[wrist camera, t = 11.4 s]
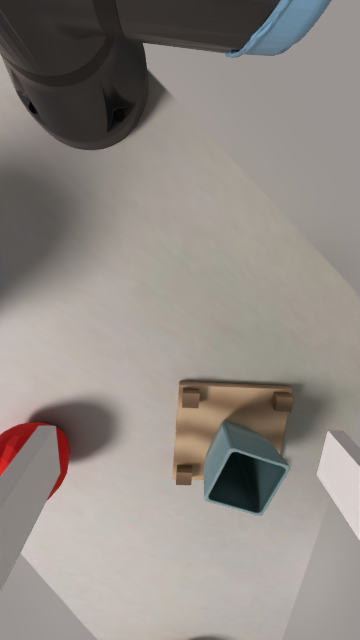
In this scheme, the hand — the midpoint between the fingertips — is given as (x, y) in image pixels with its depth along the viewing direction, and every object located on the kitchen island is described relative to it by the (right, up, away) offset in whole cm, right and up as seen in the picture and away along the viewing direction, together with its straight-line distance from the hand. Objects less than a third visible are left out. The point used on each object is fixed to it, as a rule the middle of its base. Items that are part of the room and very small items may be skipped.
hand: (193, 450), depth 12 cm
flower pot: (+8, -13, +29) cm, 32 cm away
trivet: (+8, -13, +30) cm, 33 cm away
